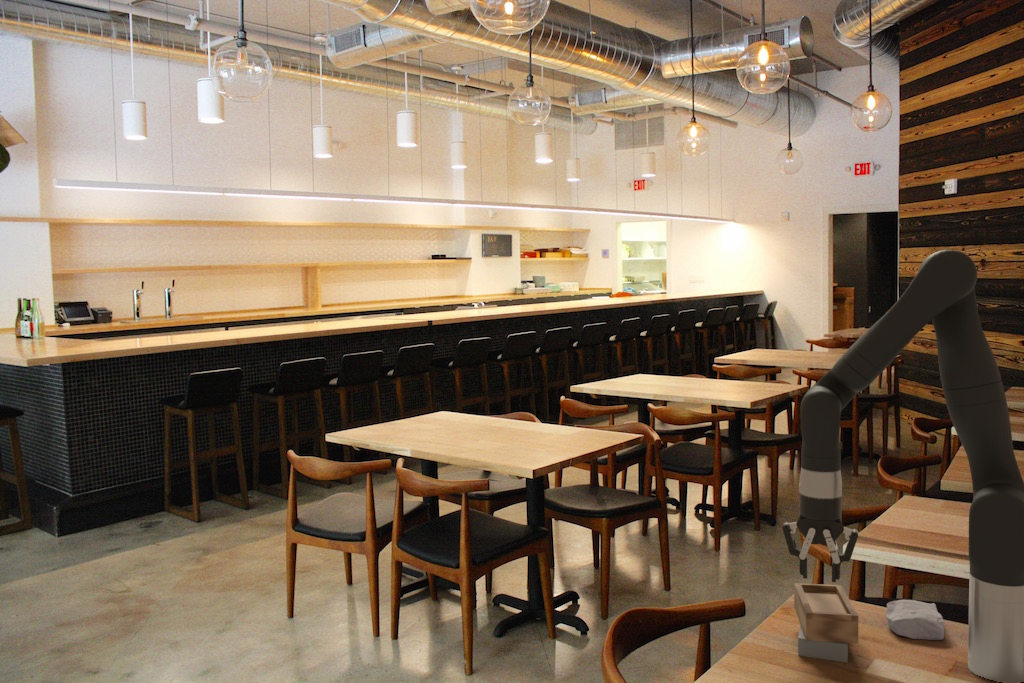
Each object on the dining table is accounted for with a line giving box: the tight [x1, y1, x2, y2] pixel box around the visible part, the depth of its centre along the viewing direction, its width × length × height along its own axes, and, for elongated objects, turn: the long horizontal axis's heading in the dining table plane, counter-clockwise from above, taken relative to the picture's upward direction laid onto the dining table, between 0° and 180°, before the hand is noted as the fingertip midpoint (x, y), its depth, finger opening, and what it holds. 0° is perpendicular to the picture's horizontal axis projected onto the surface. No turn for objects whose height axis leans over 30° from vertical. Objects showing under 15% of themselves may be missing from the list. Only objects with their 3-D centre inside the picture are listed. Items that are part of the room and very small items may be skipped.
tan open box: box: [793, 582, 859, 645], centre depth 155 cm, size 9×15×5 cm, turn 169°
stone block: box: [885, 599, 945, 641], centre depth 161 cm, size 12×5×10 cm
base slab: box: [797, 624, 849, 663], centre depth 155 cm, size 8×15×4 cm, turn 157°
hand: (819, 578), depth 155 cm, fingers open, 4 cm apart
